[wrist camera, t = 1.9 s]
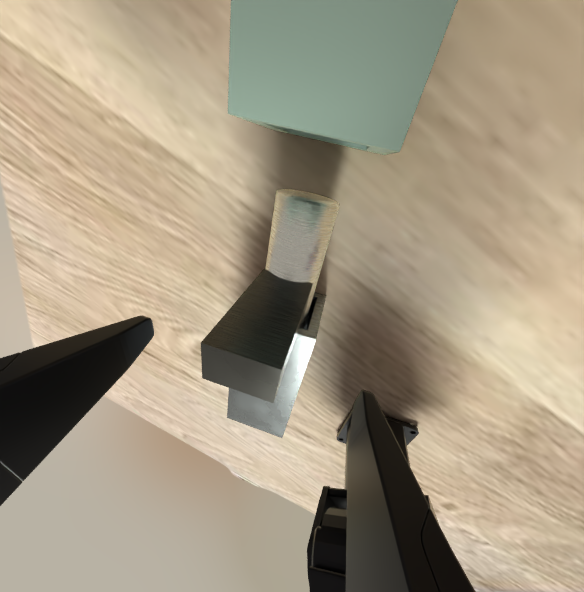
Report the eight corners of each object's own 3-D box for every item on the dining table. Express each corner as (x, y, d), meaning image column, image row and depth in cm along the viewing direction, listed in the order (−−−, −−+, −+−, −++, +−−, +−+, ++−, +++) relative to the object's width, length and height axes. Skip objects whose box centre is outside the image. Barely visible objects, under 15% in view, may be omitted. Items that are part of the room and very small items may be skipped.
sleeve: (295, 388, 24) (282, 438, 20) (250, 372, 25) (227, 417, 20) (326, 295, 18) (315, 339, 13) (263, 277, 18) (233, 313, 14)
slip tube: (287, 386, 23) (250, 504, 15) (255, 376, 23) (204, 485, 16) (341, 200, 13) (318, 259, 5) (286, 186, 14) (188, 222, 6)
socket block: (384, 154, 12) (399, 151, 8) (273, 129, 13) (227, 113, 8) (444, -18, 9) (533, -197, 5) (293, -39, 10) (237, -214, 5)
